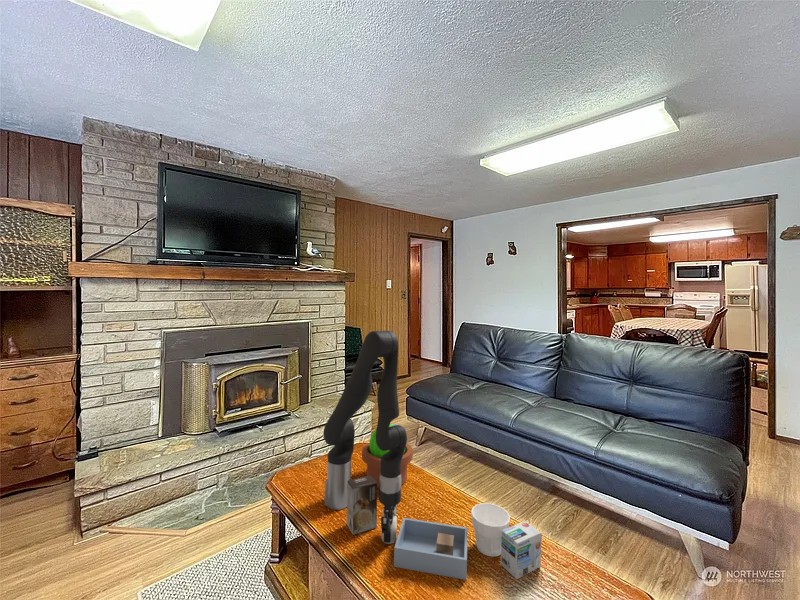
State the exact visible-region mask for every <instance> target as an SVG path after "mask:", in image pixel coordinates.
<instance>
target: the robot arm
mask: <svg viewBox="0 0 800 600" xmlns="http://www.w3.org/2000/svg"><path fill="white" fill-rule="evenodd" d="M378 358H382V359H383V372H382V376H381V379H380V381H379V386H378V389H377V394H376V400H377V410H378V411H377V412H378V417H377V425H376V428H377V429H376V428H375V429H376V444H377V446H378V448H379V449H380V450H382V451H387V450H389V451H388V452H387V453H385V454H384V455H383V456H382V457H381V461H380V478H379V488H378V501H379V502H380V504H381V505H382V506H383V507H382V516H381V518H380V521H381V524H380V525H381V526H380V527H381V534H382V533H384V542H386V543H390V541H391V524H392V523H393V518H394V515H395V516H396V515H397V514H398V513H397V509H398V504H400V502H401V501H402V485H401V483H402V480H401V461H402V457H403V454H404V450H405V447H406V443H407V444H408V434H407V431H406V429H405V427H404V426H402V425H400V424H396V425H395V426H391V427H389V426H390V424H391V423H392V421H393V420H395V419H398V417H399V416H400V408H399V397H398V366H399V362H398V361H399V340H398V336H397V335H396V334H395V332H393V331H391V330H372V331H370V332H368V333H367V335H366V336H365V337H364V340H363V342H362V345H361V347H360V351H359V355H358V357H357V360H356V362H355V365H354V367H353V370H352V372H351V375H350V376H349V378H348V380H347V383H346V385H345V387H344V389H343V392H342V394H341V396H340V398H339V400H338V402H337V404H336V406H335V408H334V409H333V410H332V411H333V412H332V413H331V415H330V417H329V418H328V420H327V421H326V423H325V424H324V429H323V439H324V442H325V443H326V444H327V445H328V446H333V447H332V448H331V449H330V450H329V451H328V452H327V453H328V454H327V469H326V470H327V471H326V472H327V475H326V480H325V481H324V483H325V484H324V507H325V506H326V507H327V508H328V509H331V510H337V511H338V510H344V509H346V508H347V483H348V480H352V457H353V453H354V447H355V434H356V433H355V431H356V429H355V425H354V424H355V423H354V421H353V419H351V418H352V417H353V416H354V415H355V414H356V413H357V412H358V411H360V409H361V408H362V407H363V406H364V404H365V403H366V401H367V400H368V399H369V396H370V394H371V392H372V390H373V383H374V382H373V377H372V369H373V367H374V364H375V362H376V361H377V360H378ZM396 517H397V516H396ZM390 519H391V521H390ZM384 542H383V543H384ZM386 543H385V544H386Z"/></svg>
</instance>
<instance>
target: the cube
mask: <svg viewBox="0 0 800 600" xmlns="http://www.w3.org/2000/svg"><path fill="white" fill-rule="evenodd" d="M453 549H454V535H449V534H443V533H438V537H437V544H436V553H440V554H446V555H451V556H453Z"/></svg>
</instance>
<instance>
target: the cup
mask: <svg viewBox="0 0 800 600" xmlns="http://www.w3.org/2000/svg"><path fill="white" fill-rule="evenodd" d="M470 515H471V522H472V523H471V524H472V527H473V530H474V537H475V541H476V542H475V543H476V544H475V545H476V548H477V550H478V551H479V552H480V553H481V554H483V555H484V556H487V557H498V556H501V544H502V530H504V529H507V528H509V527H510V522H511V521H510V520H511V516H510V514H509V512H508V511H507V510H506V509H505V508H503V507H502V506H499V505H497V504H495V503H494V504H493V503H490V502H485V503H484V502H483V503H482V502H481V503H477V504H475V505H474V506H473V507H472V508H471V511H470Z"/></svg>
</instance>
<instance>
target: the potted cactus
mask: <svg viewBox="0 0 800 600" xmlns="http://www.w3.org/2000/svg"><path fill="white" fill-rule="evenodd" d="M395 425H397V424H395V423H392V424H391V423H390V426H389V427H391V426H395ZM376 429H377V427H376V428H374V430H373V431H372V433H371V435H370V438H369V442H367V443H365V444H364V445H363V447H362V448H361V459H362V461H363V462H364V463H365V464H366V476H369V475H370V476H371V477H372V478H373V479H374V480H375V481H376V482H377V489H379V478H380V461H381V457H382V456H383V455H384V454H385V453H387V452H388V451H389V450H387V451H382V450H380V449H379V448H378V446H377V444H376ZM413 450H414V449H413V447H412V446H411V445H410V444H409V443H408V442H407V443H406V447H405V450H404V454H403V457H402V461H401V480H402V483H401V486H403V485H404V484H405V483H406V481H407V478H408V473H407V472H408V464H410V463H411V462H412V460H413V454H414V451H413Z"/></svg>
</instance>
